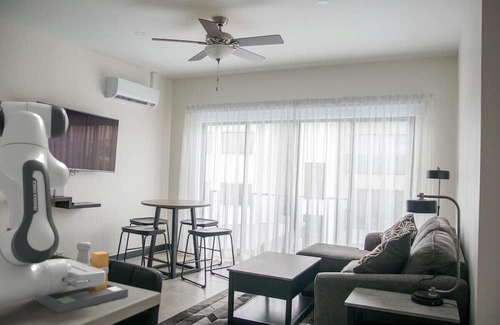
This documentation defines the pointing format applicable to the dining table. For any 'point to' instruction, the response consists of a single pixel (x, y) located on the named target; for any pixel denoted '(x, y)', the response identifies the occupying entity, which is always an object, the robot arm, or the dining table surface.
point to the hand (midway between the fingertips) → (102, 268)
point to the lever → (99, 261)
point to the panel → (80, 297)
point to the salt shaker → (83, 252)
